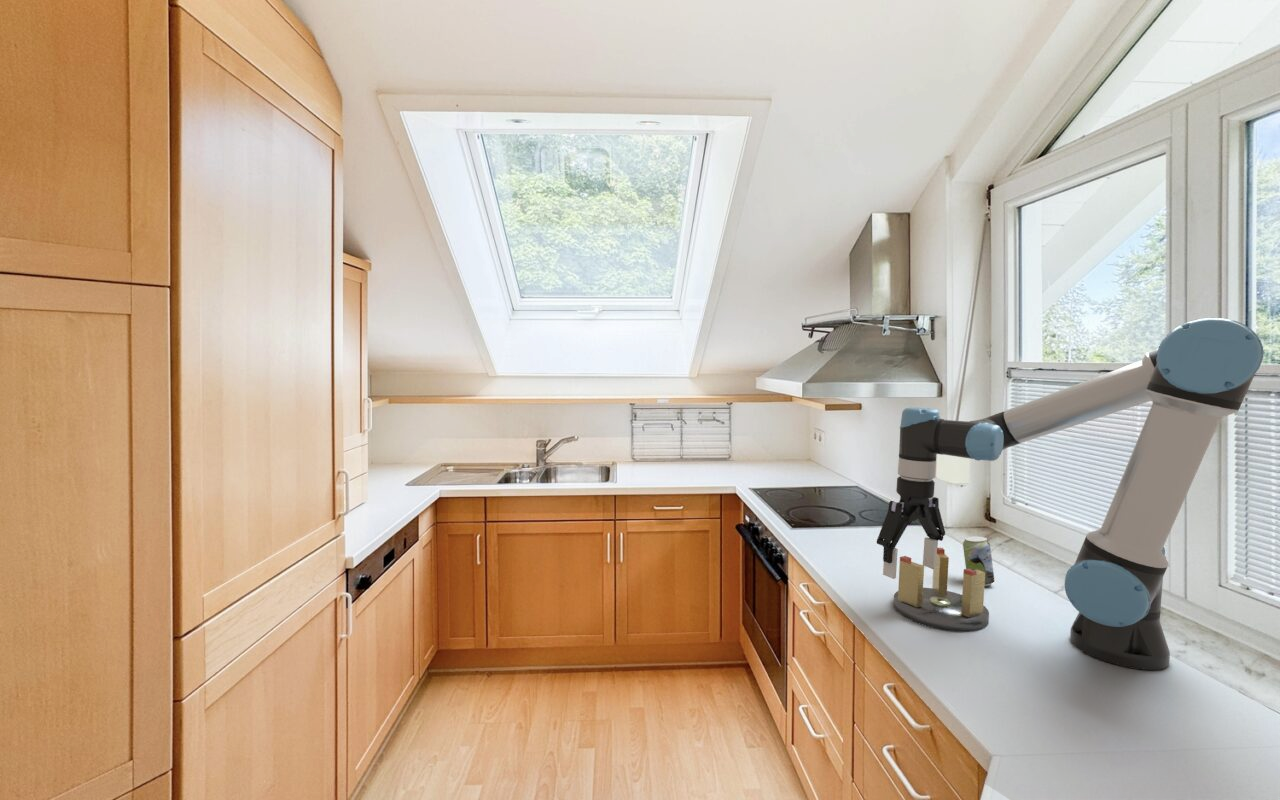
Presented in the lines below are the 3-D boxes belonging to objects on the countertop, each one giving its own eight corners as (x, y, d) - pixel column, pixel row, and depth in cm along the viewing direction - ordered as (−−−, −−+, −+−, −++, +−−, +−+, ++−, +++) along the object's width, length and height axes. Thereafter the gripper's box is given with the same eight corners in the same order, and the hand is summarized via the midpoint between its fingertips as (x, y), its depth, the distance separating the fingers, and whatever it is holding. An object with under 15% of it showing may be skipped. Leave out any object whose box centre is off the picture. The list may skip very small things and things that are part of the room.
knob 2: (946, 596, 136) (948, 554, 135) (938, 595, 136) (940, 553, 136) (940, 588, 141) (942, 547, 140) (932, 587, 141) (934, 547, 140)
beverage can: (998, 589, 147) (1000, 542, 146) (965, 587, 148) (968, 540, 147) (988, 580, 153) (991, 535, 152) (957, 578, 154) (960, 533, 153)
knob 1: (922, 605, 130) (924, 562, 130) (916, 607, 129) (919, 563, 129) (903, 598, 134) (905, 555, 134) (897, 599, 134) (899, 557, 133)
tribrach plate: (1007, 620, 129) (1007, 607, 129) (953, 639, 120) (954, 625, 119) (927, 590, 145) (928, 578, 145) (875, 604, 136) (876, 592, 136)
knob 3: (974, 610, 129) (977, 565, 128) (982, 613, 127) (985, 568, 126) (961, 614, 126) (963, 569, 126) (969, 617, 125) (971, 572, 124)
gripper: (935, 470, 139) (929, 558, 141) (862, 478, 127) (857, 574, 129) (966, 476, 133) (959, 568, 135) (892, 486, 121) (886, 587, 122)
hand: (909, 571), depth 132 cm, fingers open, 13 cm apart
